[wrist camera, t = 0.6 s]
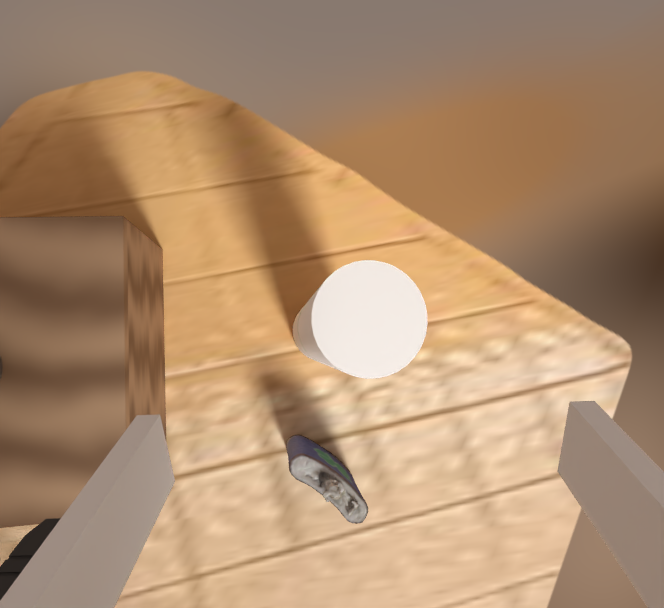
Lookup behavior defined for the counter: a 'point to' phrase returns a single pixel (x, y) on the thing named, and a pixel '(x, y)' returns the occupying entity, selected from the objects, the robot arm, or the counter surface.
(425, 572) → the counter surface
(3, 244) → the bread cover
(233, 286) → the counter surface
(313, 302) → the cylindrical container
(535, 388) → the counter surface
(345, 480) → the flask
